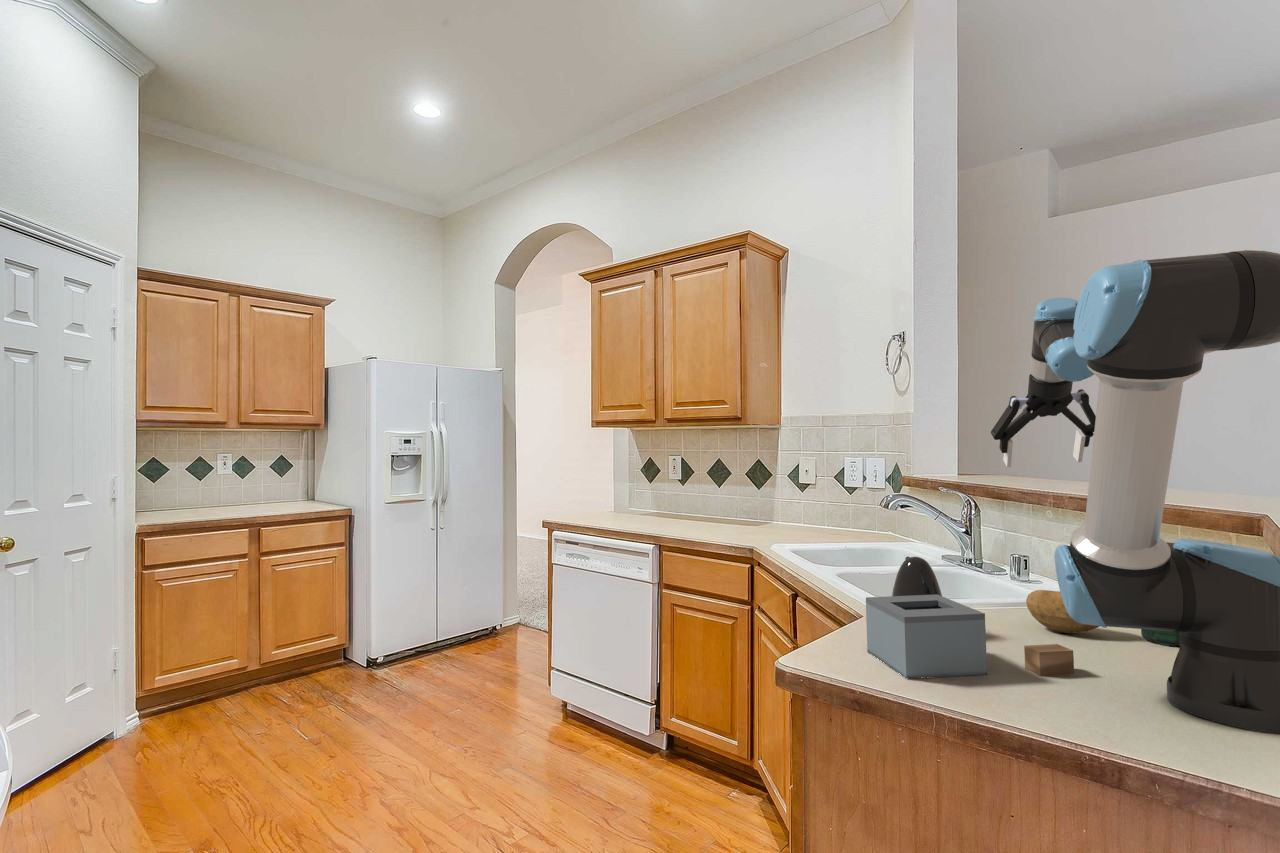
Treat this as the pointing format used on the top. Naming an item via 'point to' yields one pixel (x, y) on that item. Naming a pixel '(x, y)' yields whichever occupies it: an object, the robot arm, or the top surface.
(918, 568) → the black dome cover
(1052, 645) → the block
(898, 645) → the box
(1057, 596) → the potato
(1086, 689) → the top surface
